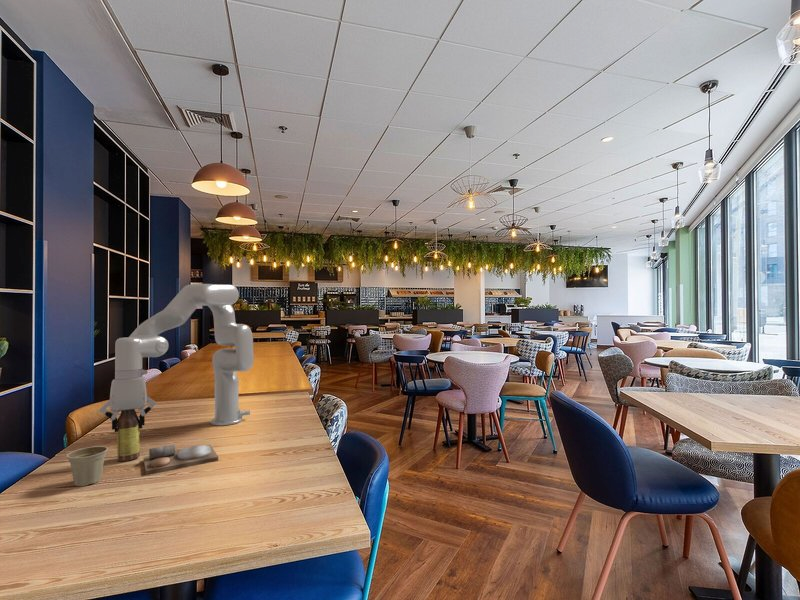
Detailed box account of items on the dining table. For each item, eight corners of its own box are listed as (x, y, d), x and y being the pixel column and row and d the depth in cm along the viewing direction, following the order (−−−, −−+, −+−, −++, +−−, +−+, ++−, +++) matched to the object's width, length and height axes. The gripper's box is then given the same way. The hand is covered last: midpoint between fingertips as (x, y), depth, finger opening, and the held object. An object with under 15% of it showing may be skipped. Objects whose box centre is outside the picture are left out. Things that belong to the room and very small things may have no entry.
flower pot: (62, 492, 111) (62, 460, 111) (70, 479, 119) (71, 449, 119) (104, 485, 115) (104, 454, 115) (110, 473, 123) (110, 444, 123)
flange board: (210, 448, 144) (210, 435, 145) (218, 460, 133) (218, 446, 133) (143, 460, 133) (143, 446, 133) (145, 475, 122) (145, 460, 122)
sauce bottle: (144, 456, 136) (144, 396, 137) (124, 463, 131) (125, 400, 131) (131, 453, 139) (132, 395, 140) (112, 460, 134) (113, 398, 134)
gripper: (158, 371, 143) (157, 422, 143) (96, 375, 134) (96, 431, 133) (160, 373, 137) (159, 427, 137) (95, 379, 127) (95, 437, 127)
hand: (128, 429), depth 135 cm, fingers closed on sauce bottle, 6 cm apart
